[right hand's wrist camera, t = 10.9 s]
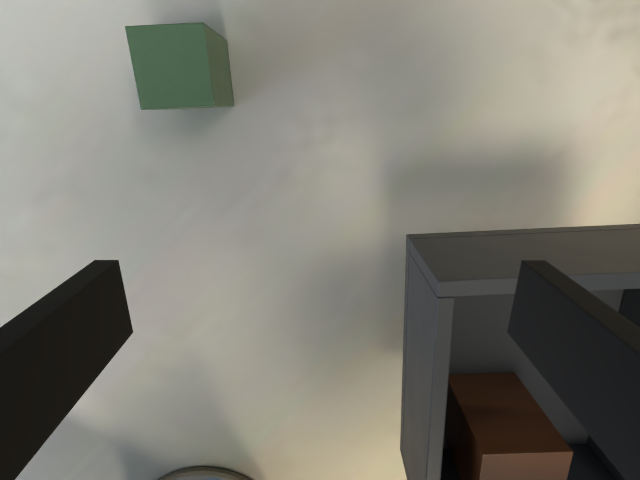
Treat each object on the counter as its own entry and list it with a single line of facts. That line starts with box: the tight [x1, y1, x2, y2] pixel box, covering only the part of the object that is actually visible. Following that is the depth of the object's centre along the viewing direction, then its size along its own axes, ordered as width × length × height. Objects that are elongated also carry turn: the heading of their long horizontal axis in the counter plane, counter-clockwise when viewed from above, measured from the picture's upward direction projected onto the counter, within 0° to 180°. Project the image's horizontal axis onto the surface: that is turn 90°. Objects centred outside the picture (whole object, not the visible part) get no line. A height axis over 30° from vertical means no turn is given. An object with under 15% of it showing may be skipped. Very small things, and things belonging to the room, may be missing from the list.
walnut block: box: [444, 372, 573, 480], centre depth 22 cm, size 4×4×6 cm
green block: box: [125, 22, 234, 110], centre depth 25 cm, size 4×4×6 cm
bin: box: [400, 224, 640, 480], centre depth 22 cm, size 17×24×6 cm
